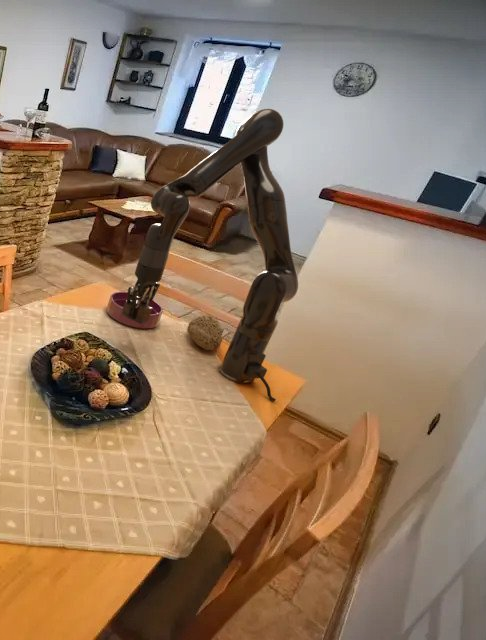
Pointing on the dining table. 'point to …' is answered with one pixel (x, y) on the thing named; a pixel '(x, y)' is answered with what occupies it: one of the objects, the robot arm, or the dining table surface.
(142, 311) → the eraser
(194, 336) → the sponge
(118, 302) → the bowl
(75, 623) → the dining table surface
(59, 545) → the dining table surface
